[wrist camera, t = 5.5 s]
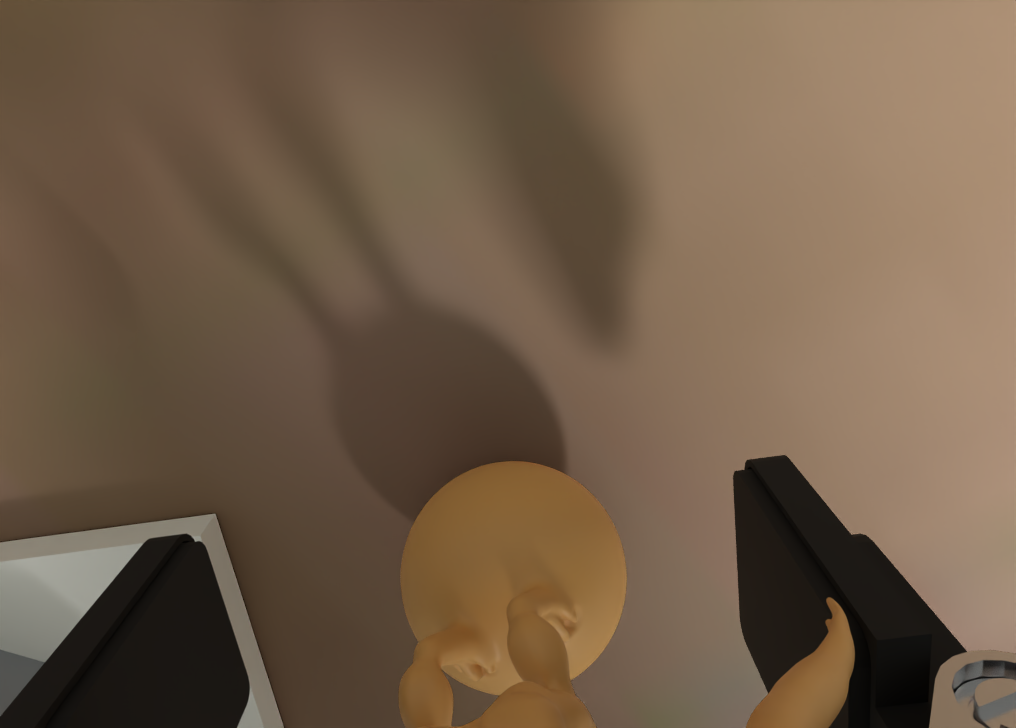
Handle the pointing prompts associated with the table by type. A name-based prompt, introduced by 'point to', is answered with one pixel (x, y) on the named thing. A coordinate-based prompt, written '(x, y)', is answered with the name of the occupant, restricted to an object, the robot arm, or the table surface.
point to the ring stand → (78, 584)
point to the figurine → (546, 607)
